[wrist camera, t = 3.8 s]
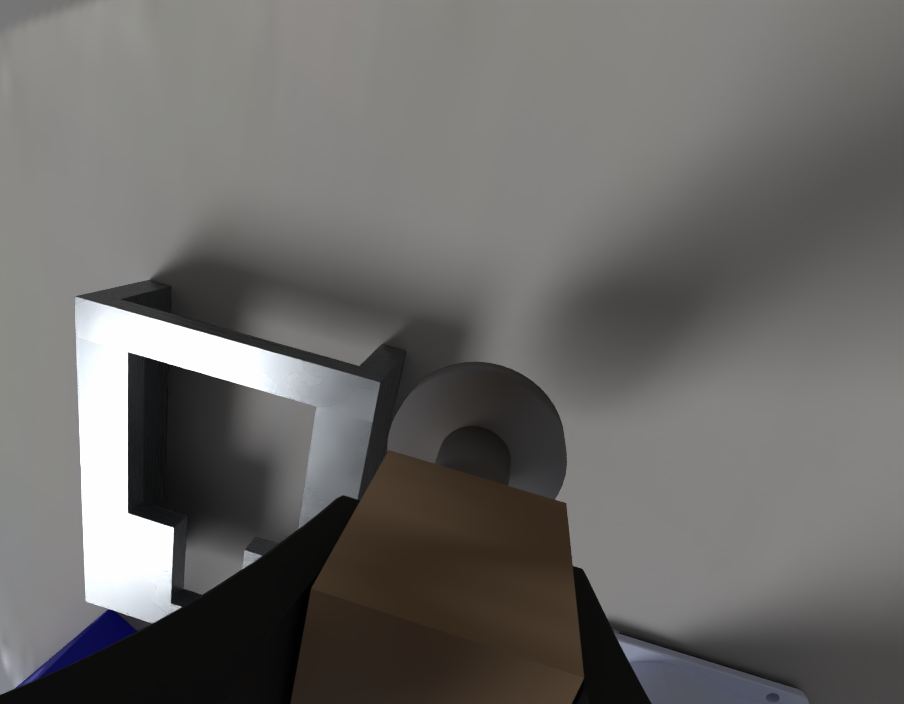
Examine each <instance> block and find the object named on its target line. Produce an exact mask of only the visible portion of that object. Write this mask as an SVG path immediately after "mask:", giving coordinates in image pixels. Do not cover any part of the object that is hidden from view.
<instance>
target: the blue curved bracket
mask: <svg viewBox="0 0 904 704" xmlns="http://www.w3.org/2000/svg"><path fill="white" fill-rule="evenodd" d="M135 632H137V631H136V630H135V629H134V628H133V627H132V626H131V625H130V624H129V623H128V622H126V621H125V620H124V619H123V618H122V617H121V616H120V615H119V614H117V613H116V612H115V611H114V610H111V609H108V610H107V611H106V612H105V613H103V614H102V615H101V616H100V617H99V618H98V619H96V620H95V621H94V622H93V623H92V624H90V625H89V626H88V627H87V628H86V629H85V630H83V631H82V632H81V633H80V634H79V635H77V636H76V637H75V638H74V639H73V640H72V641H70V642H69V643H68V644H67V645H66V646H64V647H63V648H62V649H61V650H60V651H59V652H57V653H56V654H55V655H54V656H53V657H52V658H50V659H49V660H48V661H47V662H46V663H44V664H43V665H42V666H41V667H40V668H39V669H37V670H36V671H35V672H34V673H33V674H31V675H30V676H29V677H28V678H27V679H26V680H24V681H23V682H22V683H21V684H20V685H18V686H17V687H16V688H18V687H20V686H22V685H25V684H27V683H29V682H32V681H34V680H36V679H39V678H41V677H43V676H46V675H48V674H50V673H53V672H55V671H57V670H59V669H62V668H64V667H66V666H68V665H70V664H72V663H75V662H77V661H79V660H81V659H83V658H85V657H87V656H89V655H91V654H93V653H96V652H98V651H100V650H102V649H104V648H105V647H107V646H109V645H111V644H113V643H115V642H117V641H119V640H121V639H123V638H125V637H127V636H129V635H131V634H133V633H135Z"/></svg>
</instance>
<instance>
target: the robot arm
mask: <svg viewBox="0 0 904 704" xmlns="http://www.w3.org/2000/svg"><path fill="white" fill-rule="evenodd" d="M360 501H361V500H358V499H354V498H351V497H348V496H345V495H342V496H340V497H338V498H336V499H335V500H334V501H333V502H331V503H330V504H329V505H328V506H327V507H326V508H324V509H323V510H322V511H321V512H320V513H318V514H317V515H316V516H315V517H313V518H312V519H311V520H310V521H308V522H307V523H306V524H305V525H303V526H302V527H301V528H299V529H298V530H297V531H296V532H294V533H293V534H292V535H290V536H289V537H287V538H286V539H285V540H283V541H282V542H281V543H279V544H278V545H276V546H275V547H274V548H272V549H271V550H270V551H268V552H267V553H265V554H264V555H263V556H261V557H260V558H258V559H257V560H256V561H254V562H253V563H251V564H250V565H248V566H247V567H245V568H244V569H242V570H240V571H239V572H237V573H236V574H234V575H233V576H231V577H230V578H228V579H227V580H225V581H224V582H222V583H221V584H219V585H217V586H216V587H214V588H213V589H211V590H210V591H208V592H206V593H205V594H203V595H201V596H200V597H198V598H196V599H195V600H193V601H191V602H190V603H188V604H186V605H184V606H183V607H181V608H179V609H178V610H176V611H174V612H172V613H170V614H169V615H167V616H165V617H163V618H161V619H160V620H158V621H156V622H154V623H152V624H150V625H149V626H147V627H145V628H143V629H141V630H139V631H137V632H135V633H133V634H131V635H129V636H127V637H125V638H123V639H121V640H119V641H117V642H115V643H113V644H111V645H109V646H107V647H105V648H104V649H102V650H100V651H98V652H96V653H93V654H91V655H89V656H87V657H85V658H83V659H81V660H79V661H77V662H75V663H72V664H70V665H68V666H66V667H64V668H62V669H59V670H57V671H55V672H53V673H50V674H48V675H46V676H43V677H41V678H39V679H36V680H34V681H32V682H29V683H27V684H25V685H22V686H20V687H18V688H15V689H13V690H11V691H9V692H6V693H4V694H1V695H0V704H290V703H291V698H292V692H293V686H294V681H295V675H296V670H297V664H298V659H299V653H300V648H301V642H302V636H303V631H304V625H305V620H306V614H307V609H308V603H309V598H310V592H311V588H312V586H313V584H314V583H315V581H316V579H317V577H318V575H319V574H320V572H321V570H322V568H323V567H324V565H325V563H326V561H327V559H328V558H329V556H330V554H331V552H332V550H333V549H334V547H335V545H336V543H337V542H338V540H339V538H340V536H341V534H342V533H343V531H344V529H345V527H346V526H347V524H348V522H349V520H350V518H351V517H352V515H353V513H354V511H355V509H356V508H357V506H358V504H359V502H360ZM573 575H574V584H575V594H576V604H577V613H578V623H579V632H580V642H581V652H582V661H583V671H584V679H583V681H582V683H581V685H580V688H579V690H578V692H577V694H576V696H575V698H574V700H573V702H572V704H809V701H808V699H807V697H806V695H805V694H804V693H803V692H802V691H801V690H799V689H796V688H792V687H789V686H786V685H783V684H779V683H776V682H773V681H770V680H767V679H763V678H760V677H757V676H754V675H750V674H747V673H744V672H741V671H738V670H734V669H731V668H728V667H725V666H721V665H718V664H715V663H712V662H708V661H705V660H702V659H699V658H696V657H692V656H689V655H686V654H683V653H679V652H676V651H673V650H670V649H667V648H663V647H660V646H657V645H654V644H650V643H647V642H644V641H641V640H638V639H634V638H631V637H628V636H625V635H621V634H618V633H615V632H613V630H612V628H611V626H610V624H609V622H608V620H607V618H606V616H605V613H604V611H603V609H602V607H601V605H600V603H599V601H598V599H597V597H596V595H595V593H594V591H593V589H592V587H591V584H590V582H589V580H588V578H587V576H586V574H585V573H584V571H583V569H581V568H578V567H574V566H573Z"/></svg>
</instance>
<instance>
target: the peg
mask: <svg viewBox="0 0 904 704" xmlns="http://www.w3.org/2000/svg"><path fill="white" fill-rule="evenodd" d="M566 466H567V454H566V446H565V438H564V431H563V426H562V423H561V420H560V416H559V414H558V412H557V410H556V408H555V406H554V405H553V403H552V402H551V400H550V399H549V397H548V396H547V395H546V394H545V393H544V391H543V390H542V389H541V388H540V387H539V386H537V385H536V384H535V383H534V382H533V381H531V380H530V379H528V378H527V377H525V376H524V375H522V374H520V373H518V372H516V371H514V370H512V369H510V368H507V367H504V366H501V365H497V364H492V363H485V362H464V363H458V364H453V365H450V366H447V367H444V368H441V369H439V370H437V371H435V372H433V373H431V374H430V375H428V376H427V377H425V378H424V379H423V380H421V381H420V382H419V383H418V384H417V385H416V386H415V387H414V388H413V389H412V390H411V392H410V393H409V395H408V396H407V398H406V399H405V401H404V402H403V404H402V406H401V407H400V409H399V410H398V412H397V414H396V416H395V418H394V420H393V422H392V424H391V428H390V431H389V436H388V443H387V454H386V456H385V458H384V460H383V461H382V463H381V465H380V467H379V468H378V470H377V472H376V474H375V476H374V477H373V479H372V481H371V483H370V485H369V486H368V488H367V490H366V492H365V493H364V495H363V497H362V499H361V501H360V502H359V504H358V506H357V508H356V509H355V511H354V513H353V515H352V517H351V518H350V520H349V522H348V524H347V526H346V527H345V529H344V531H343V533H342V534H341V536H340V538H339V540H338V542H337V543H336V545H335V547H334V549H333V550H332V552H331V554H330V556H329V558H328V559H327V561H326V563H325V565H324V567H323V568H322V570H321V572H320V574H319V575H318V577H317V579H316V581H315V583H314V584H313V586H312V588H311V592H310V598H309V603H308V609H307V614H306V620H305V625H304V631H303V636H302V642H301V648H300V653H299V659H298V664H297V670H296V675H295V681H294V686H293V692H292V698H291V703H290V704H572V702H573V700H574V698H575V696H576V694H577V692H578V690H579V688H580V685H581V683H582V681H583V679H584V671H583V661H582V652H581V642H580V632H579V623H578V613H577V604H576V594H575V584H574V575H573V565H572V555H571V546H570V536H569V526H568V517H567V507H566V503H564V502H560V501H557V500H555V498H556V497H557V495H558V493H559V491H560V489H561V487H562V485H563V481H564V478H565V474H566Z"/></svg>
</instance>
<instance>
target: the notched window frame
mask: <svg viewBox="0 0 904 704" xmlns="http://www.w3.org/2000/svg"><path fill="white" fill-rule="evenodd" d="M170 299H171V286H168V285H165V284H161V283H157V282H154V281H150V280H146V281H142V282H137V283H133V284H128V285H124V286H119V287H115V288H111V289H106V290H102V291H97V292H93V293H88V294H84V295H79V296H75V319H76V347H77V374H78V402H79V429H80V457H81V484H82V512H83V539H84V567H85V594H86V601H87V602H90V603H93V604H96V605H99V606H102V607H105V608H108V609H111V610H114V611H117V612H120V613H123V614H126V615H129V616H132V617H135V618H138V619H141V620H144V621H147V622H150V623H154V622H156V621H158V620H160V619H161V618H163V617H165V616H167V615H169V614H170V613H172V612H174V611H176V610H178V609H179V608H181V607H183V606H184V605H186V604H188V603H190V602H191V601H193V600H195V599H196V598H198V597H200V596H201V594H198V593H195V592H192V591H188V590H185V589H183V588H184V569H185V551H186V532H187V515H185V514H182V513H178V512H175V511H172V510H169V509H166V508H164V484H165V453H166V422H167V392H168V364H171V365H175V366H178V367H182V368H185V369H189V370H192V371H196V372H199V373H203V374H206V375H210V376H213V377H216V378H220V379H223V380H227V381H230V382H234V383H237V384H241V385H244V386H248V387H251V388H255V389H258V390H262V391H265V392H269V393H272V394H275V395H279V396H282V397H286V398H289V399H293V400H296V401H300V402H303V403H307V404H310V405H314V406H316V412H315V419H314V426H313V433H312V439H311V446H310V453H309V459H308V466H307V473H306V480H305V486H304V493H303V500H302V506H301V513H300V520H299V527H298V529H299V528H301V527H302V526H303V525H305V524H306V523H307V522H308V521H310V520H311V519H312V518H313V517H315V516H316V515H317V514H318V513H320V512H321V511H322V510H323V509H324V508H326V507H327V506H328V505H329V504H330V503H331V502H333V501H334V500H335V499H336V498H338V497H340V496H342V495H345V496H348V497H351V498H354V499H358V500H361V499H362V497H363V495H364V493H365V492H366V490H367V488H368V486H369V485H370V483H371V481H372V479H373V477H374V476H375V474H376V472H377V470H378V468H379V467H380V465H381V463H382V461H383V458H384V453H385V449H386V444H387V439H388V434H389V429H390V425H391V420H392V415H393V410H394V406H395V401H396V396H397V391H398V387H399V382H400V377H401V372H402V368H403V363H404V358H405V353H406V351H405V350H401V349H397V348H394V347H390V346H387V345H383V344H381V345H380V346H379V347H378V348H377V349H376V350H375V351H374V352H373V353H372V354H371V355H370V356H369V357H368V358H367V359H366V360H365V361H364V362H363V363H362V364H361V365H360V366H357V365H354V364H350V363H346V362H343V361H339V360H336V359H332V358H329V357H325V356H321V355H318V354H314V353H311V352H307V351H303V350H300V349H296V348H293V347H289V346H286V345H282V344H278V343H275V342H271V341H268V340H264V339H261V338H257V337H253V336H250V335H246V334H243V333H239V332H235V331H232V330H228V329H225V328H221V327H218V326H214V325H210V324H207V323H203V322H200V321H196V320H193V319H189V318H185V317H182V316H178V315H175V314H171V313H170ZM276 545H278V544H277V543H274V542H271V541H268V540H265V539H261V538H258V537H255V538H254V539H253V540H252V542H251V543H250V544H249V545H248V547H247V548H246V549H245V551H244V561H243V569H244V568H245V567H247V566H248V565H250V564H251V563H253V562H254V561H256V560H257V559H258V558H260V557H261V556H263V555H264V554H265V553H267V552H268V551H270V550H271V549H272V548H274V547H275V546H276Z"/></svg>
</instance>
